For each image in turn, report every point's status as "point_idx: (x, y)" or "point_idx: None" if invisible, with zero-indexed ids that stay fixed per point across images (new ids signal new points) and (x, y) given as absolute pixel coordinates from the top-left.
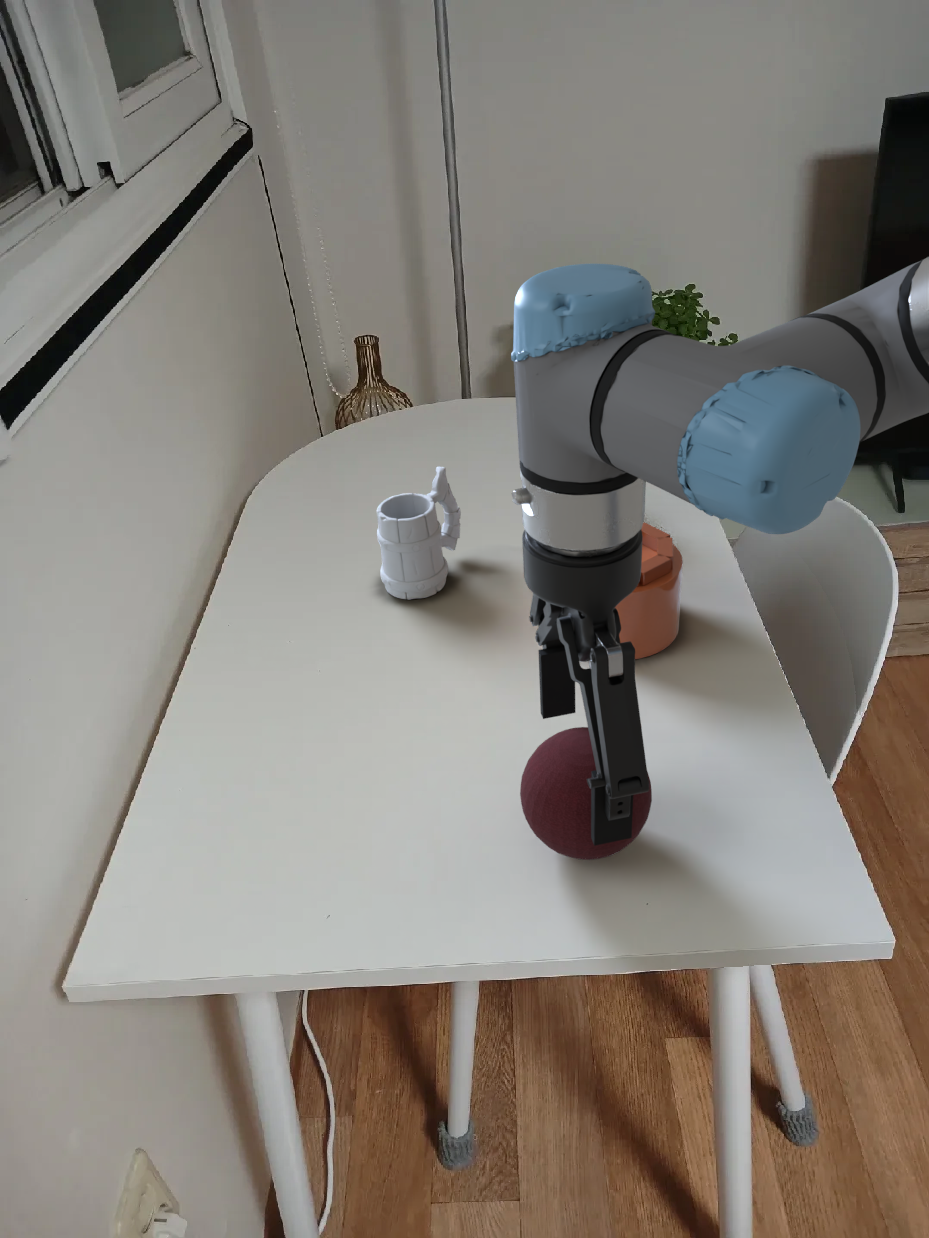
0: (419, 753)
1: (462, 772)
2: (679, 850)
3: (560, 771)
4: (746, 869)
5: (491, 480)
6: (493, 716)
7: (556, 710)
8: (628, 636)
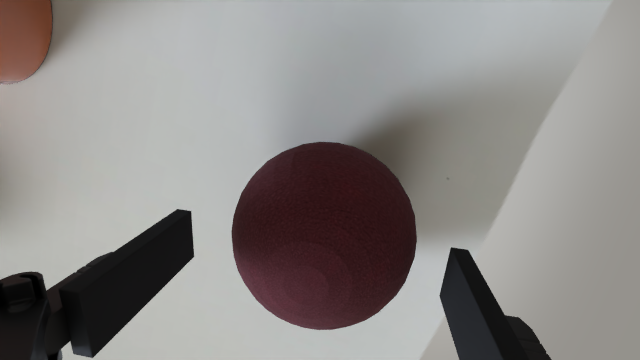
0: (175, 297)
1: (210, 272)
2: (393, 109)
3: (336, 323)
4: (457, 41)
5: None
6: (135, 216)
7: (185, 243)
8: (5, 9)
